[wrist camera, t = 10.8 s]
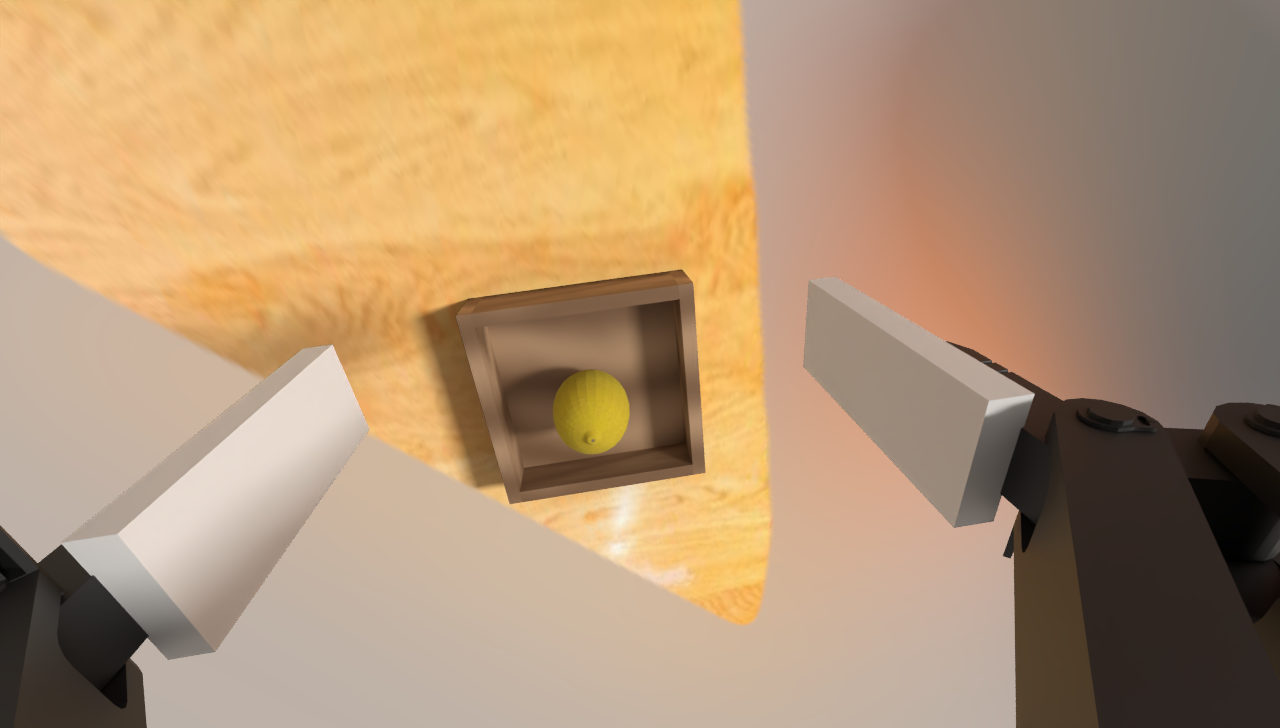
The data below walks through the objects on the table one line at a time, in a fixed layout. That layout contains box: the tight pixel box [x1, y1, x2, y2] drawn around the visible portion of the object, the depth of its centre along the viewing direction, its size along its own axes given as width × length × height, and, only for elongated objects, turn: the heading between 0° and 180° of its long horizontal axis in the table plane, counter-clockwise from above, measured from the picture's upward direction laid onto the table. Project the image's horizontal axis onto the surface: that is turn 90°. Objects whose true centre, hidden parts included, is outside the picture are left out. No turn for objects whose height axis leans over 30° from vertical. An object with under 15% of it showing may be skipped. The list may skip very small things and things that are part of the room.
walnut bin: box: [456, 270, 705, 504], centre depth 37 cm, size 16×16×4 cm
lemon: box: [553, 369, 630, 454], centre depth 34 cm, size 6×6×8 cm
